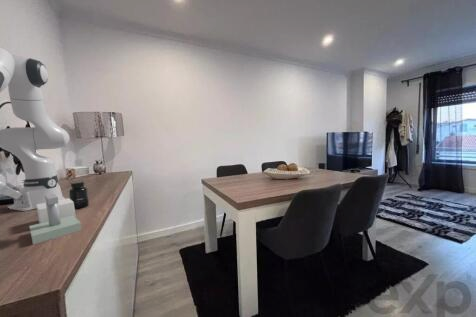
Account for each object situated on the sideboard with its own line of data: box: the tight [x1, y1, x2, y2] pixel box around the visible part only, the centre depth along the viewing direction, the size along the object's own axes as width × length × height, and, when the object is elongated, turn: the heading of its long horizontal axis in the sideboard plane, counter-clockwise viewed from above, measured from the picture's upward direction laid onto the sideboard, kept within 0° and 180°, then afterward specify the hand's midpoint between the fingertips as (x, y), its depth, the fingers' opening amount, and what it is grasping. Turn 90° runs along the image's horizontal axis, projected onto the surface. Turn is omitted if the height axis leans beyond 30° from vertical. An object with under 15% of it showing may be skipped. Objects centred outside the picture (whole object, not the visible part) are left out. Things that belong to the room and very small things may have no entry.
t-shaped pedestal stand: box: [29, 194, 83, 245], centre depth 70 cm, size 12×12×13 cm
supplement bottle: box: [68, 181, 90, 210], centre depth 96 cm, size 7×7×12 cm
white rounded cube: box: [36, 197, 77, 224], centre depth 80 cm, size 10×10×7 cm
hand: (19, 193), depth 63 cm, fingers open, 8 cm apart
